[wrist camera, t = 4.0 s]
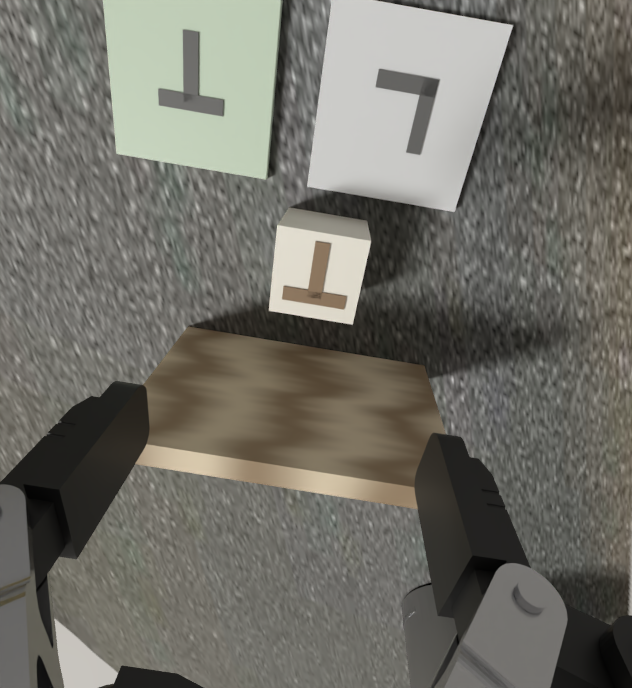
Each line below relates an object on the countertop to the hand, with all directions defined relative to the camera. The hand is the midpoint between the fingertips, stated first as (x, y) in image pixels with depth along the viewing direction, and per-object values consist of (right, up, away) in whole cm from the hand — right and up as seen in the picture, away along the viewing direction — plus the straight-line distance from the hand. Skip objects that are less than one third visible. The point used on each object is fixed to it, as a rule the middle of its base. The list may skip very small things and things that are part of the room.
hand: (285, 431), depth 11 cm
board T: (-6, +17, +11) cm, 21 cm away
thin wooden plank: (0, +2, +19) cm, 19 cm away
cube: (+1, +9, +15) cm, 18 cm away
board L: (+5, +15, +11) cm, 20 cm away
